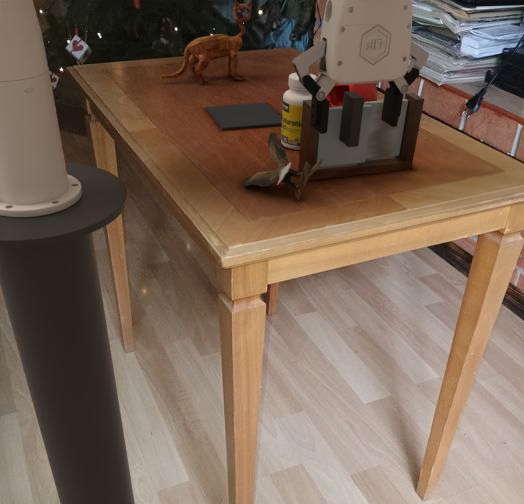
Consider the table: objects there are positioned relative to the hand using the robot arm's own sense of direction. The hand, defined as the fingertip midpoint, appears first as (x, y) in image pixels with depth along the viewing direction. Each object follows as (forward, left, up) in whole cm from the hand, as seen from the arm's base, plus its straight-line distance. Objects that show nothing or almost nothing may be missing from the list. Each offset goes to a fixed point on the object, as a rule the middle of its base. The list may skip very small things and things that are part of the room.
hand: (354, 126), depth 78 cm
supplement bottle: (-2, +15, -8) cm, 17 cm away
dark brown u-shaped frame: (+2, +3, -7) cm, 8 cm away
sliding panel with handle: (0, +1, -6) cm, 6 cm away
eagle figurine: (-10, 0, -8) cm, 13 cm away
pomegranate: (+10, +24, -8) cm, 27 cm away
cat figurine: (-7, +52, -8) cm, 53 cm away
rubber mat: (-6, +29, -7) cm, 30 cm away
